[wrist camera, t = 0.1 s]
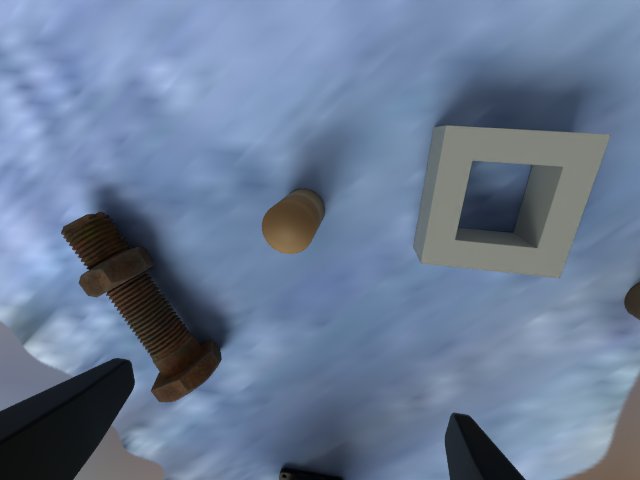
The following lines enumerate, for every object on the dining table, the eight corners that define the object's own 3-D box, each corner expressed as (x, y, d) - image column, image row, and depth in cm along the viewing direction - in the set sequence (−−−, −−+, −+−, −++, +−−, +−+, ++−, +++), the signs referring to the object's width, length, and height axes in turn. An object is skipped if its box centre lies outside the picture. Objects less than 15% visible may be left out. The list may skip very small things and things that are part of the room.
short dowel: (323, 231, 22) (312, 256, 17) (283, 227, 22) (262, 251, 18) (326, 190, 21) (315, 205, 16) (284, 187, 21) (261, 200, 17)
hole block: (533, 259, 21) (559, 278, 18) (413, 246, 21) (420, 263, 19) (572, 135, 18) (610, 134, 15) (433, 127, 19) (446, 125, 16)
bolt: (128, 206, 26) (222, 345, 28) (67, 235, 25) (171, 378, 27) (101, 200, 20) (221, 374, 23) (21, 238, 19) (157, 417, 22)
